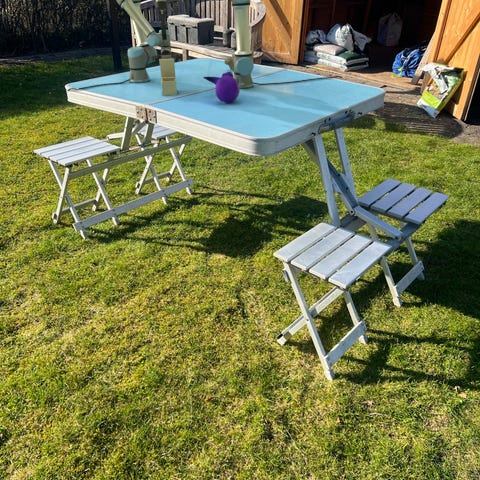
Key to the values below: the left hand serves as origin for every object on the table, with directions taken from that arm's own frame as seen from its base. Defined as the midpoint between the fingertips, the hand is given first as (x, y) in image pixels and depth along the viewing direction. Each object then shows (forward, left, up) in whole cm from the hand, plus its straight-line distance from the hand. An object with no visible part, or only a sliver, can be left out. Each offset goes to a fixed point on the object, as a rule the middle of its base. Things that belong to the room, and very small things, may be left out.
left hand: (166, 59), depth 308 cm
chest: (-3, -18, -19) cm, 26 cm away
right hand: (-3, -19, +15) cm, 25 cm away
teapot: (+63, +46, -19) cm, 80 cm away
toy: (+25, -52, -19) cm, 61 cm away
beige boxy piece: (-2, -15, -4) cm, 16 cm away
